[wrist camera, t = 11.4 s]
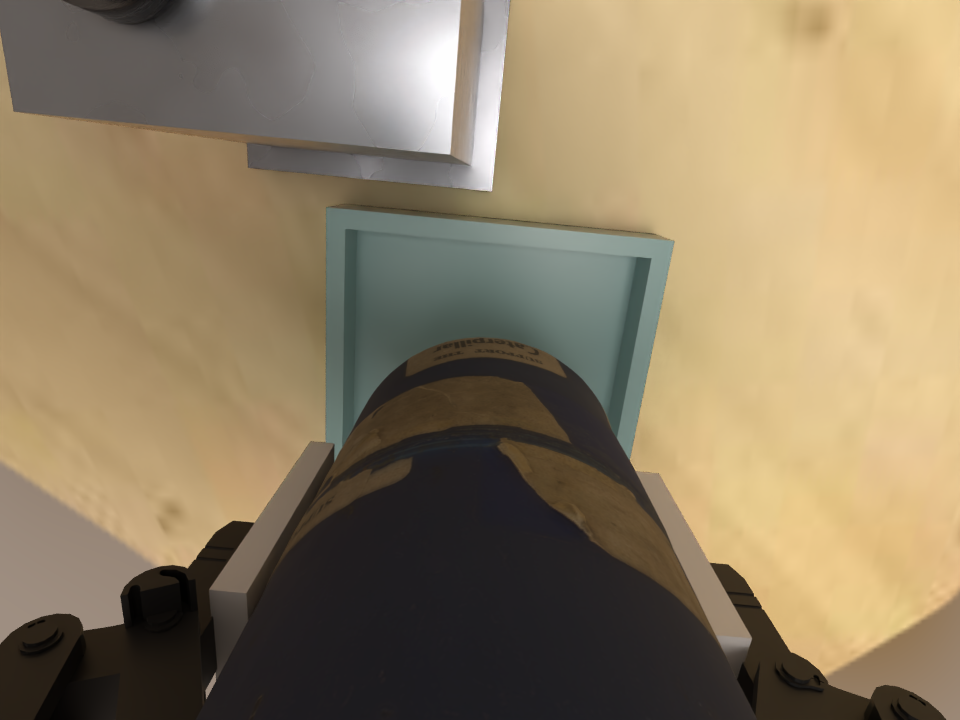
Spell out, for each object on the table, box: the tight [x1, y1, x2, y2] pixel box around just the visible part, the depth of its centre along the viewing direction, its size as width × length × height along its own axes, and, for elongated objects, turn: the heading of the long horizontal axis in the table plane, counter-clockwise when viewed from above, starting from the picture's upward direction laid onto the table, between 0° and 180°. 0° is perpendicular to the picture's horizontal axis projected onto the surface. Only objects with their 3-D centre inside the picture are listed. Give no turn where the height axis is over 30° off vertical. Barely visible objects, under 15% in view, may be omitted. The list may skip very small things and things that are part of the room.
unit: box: [0, 0, 510, 192], centre depth 16 cm, size 11×8×16 cm
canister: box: [196, 337, 757, 720], centre depth 13 cm, size 10×10×18 cm
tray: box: [326, 204, 674, 462], centre depth 27 cm, size 15×16×3 cm
